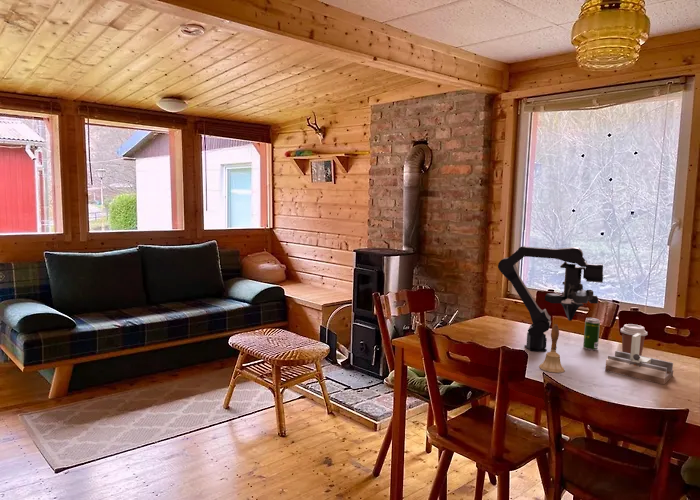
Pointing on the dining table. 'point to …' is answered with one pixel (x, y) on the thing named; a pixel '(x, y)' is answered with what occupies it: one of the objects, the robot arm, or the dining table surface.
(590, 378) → the dining table surface
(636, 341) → the carriage
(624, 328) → the coffee cup
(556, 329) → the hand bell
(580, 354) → the dining table surface
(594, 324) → the beer can
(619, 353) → the stand
